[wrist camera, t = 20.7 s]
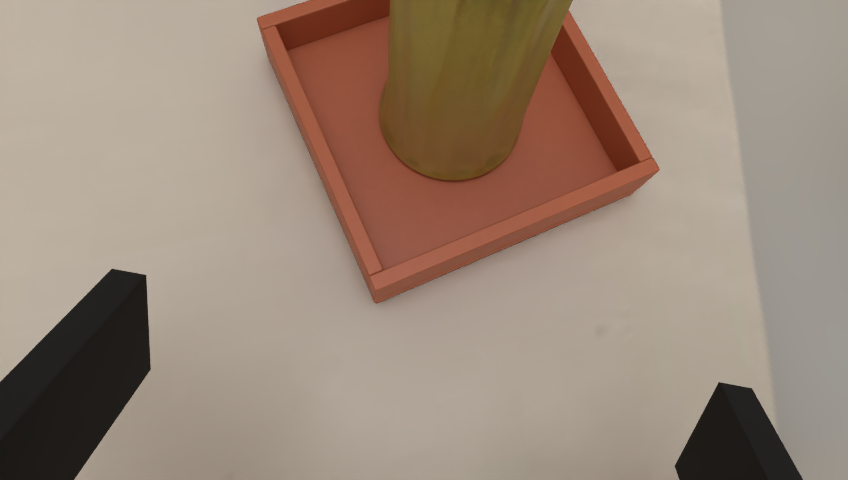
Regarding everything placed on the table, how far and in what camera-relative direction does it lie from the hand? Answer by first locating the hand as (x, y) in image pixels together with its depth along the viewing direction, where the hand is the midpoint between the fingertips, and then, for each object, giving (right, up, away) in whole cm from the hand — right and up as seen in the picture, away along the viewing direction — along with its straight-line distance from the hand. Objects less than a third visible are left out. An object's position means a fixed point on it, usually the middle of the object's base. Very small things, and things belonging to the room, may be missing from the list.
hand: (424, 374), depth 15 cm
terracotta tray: (+1, +8, +13) cm, 16 cm away
